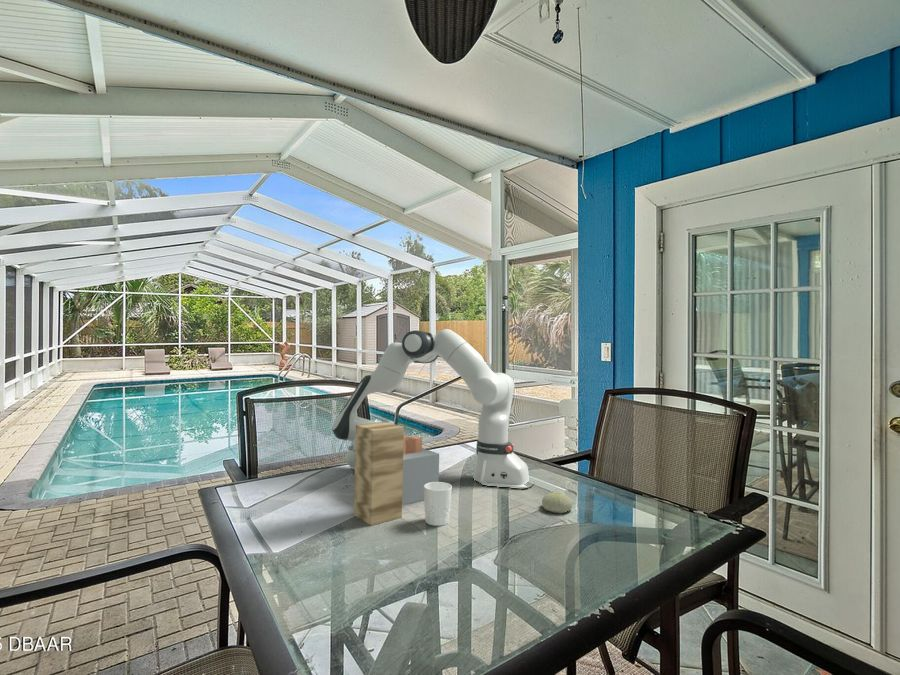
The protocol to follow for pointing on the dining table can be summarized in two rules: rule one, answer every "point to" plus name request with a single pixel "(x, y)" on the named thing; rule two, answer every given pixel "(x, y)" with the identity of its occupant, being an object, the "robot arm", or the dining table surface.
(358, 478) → the pedestal
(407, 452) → the terracotta notched block
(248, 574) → the dining table surface
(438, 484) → the white cup
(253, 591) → the dining table surface
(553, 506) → the sea urchin shell
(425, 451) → the low block
